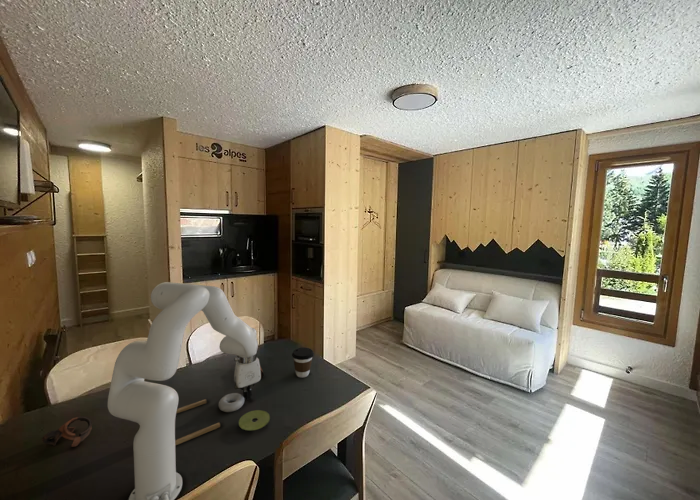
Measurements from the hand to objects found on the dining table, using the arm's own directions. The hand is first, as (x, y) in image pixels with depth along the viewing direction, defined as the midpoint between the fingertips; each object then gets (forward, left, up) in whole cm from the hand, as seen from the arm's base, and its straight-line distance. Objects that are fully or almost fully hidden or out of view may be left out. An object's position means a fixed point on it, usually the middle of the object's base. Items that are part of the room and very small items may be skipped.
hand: (247, 397), depth 124 cm
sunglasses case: (+22, -11, -1) cm, 24 cm away
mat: (-16, +4, -1) cm, 17 cm away
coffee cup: (+4, -30, -1) cm, 30 cm away
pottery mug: (+14, +56, -1) cm, 58 cm away
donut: (0, +7, -1) cm, 7 cm away
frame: (0, +22, -1) cm, 22 cm away
